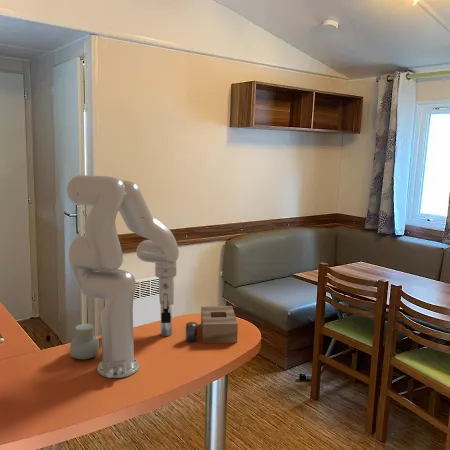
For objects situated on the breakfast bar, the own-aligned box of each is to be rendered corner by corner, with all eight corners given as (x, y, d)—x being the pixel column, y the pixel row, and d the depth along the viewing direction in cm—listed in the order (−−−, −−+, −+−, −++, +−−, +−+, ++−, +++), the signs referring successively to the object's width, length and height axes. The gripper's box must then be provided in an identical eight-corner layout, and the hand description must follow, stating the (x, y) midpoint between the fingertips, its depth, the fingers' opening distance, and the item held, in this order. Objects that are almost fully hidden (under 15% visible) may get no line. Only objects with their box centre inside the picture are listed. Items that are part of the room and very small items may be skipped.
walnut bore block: (237, 342, 166) (237, 323, 165) (203, 343, 165) (203, 324, 164) (231, 323, 183) (232, 305, 182) (201, 323, 182) (201, 306, 181)
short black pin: (197, 342, 166) (197, 326, 164) (186, 342, 165) (185, 326, 164) (197, 337, 169) (197, 321, 168) (185, 338, 169) (185, 322, 168)
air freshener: (74, 349, 159) (73, 321, 157) (99, 347, 160) (98, 320, 159) (69, 364, 148) (68, 334, 147) (96, 362, 150) (95, 332, 148)
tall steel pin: (171, 335, 170) (171, 303, 168) (160, 336, 170) (160, 304, 168) (171, 331, 174) (171, 300, 172) (160, 331, 174) (160, 300, 172)
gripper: (176, 277, 160) (176, 328, 163) (176, 265, 177) (176, 312, 180) (153, 278, 160) (154, 329, 163) (156, 265, 176) (156, 312, 179)
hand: (166, 319), depth 171 cm, fingers closed on tall steel pin, 4 cm apart
